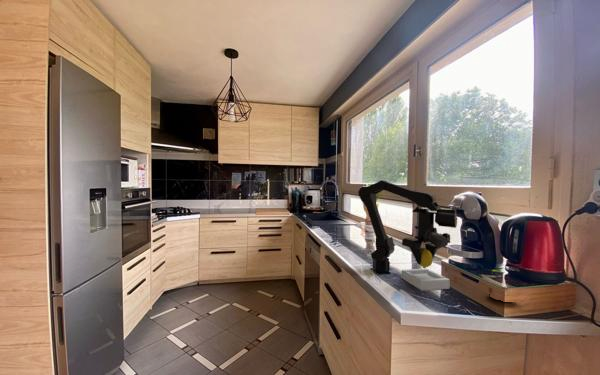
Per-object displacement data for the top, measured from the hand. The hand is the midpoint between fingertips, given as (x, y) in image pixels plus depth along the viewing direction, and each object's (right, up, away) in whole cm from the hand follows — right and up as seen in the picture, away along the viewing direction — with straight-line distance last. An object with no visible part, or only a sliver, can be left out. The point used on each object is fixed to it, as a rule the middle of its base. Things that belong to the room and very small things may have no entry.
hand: (424, 263), depth 93 cm
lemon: (0, -2, 0) cm, 2 cm away
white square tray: (0, -8, 0) cm, 8 cm away
